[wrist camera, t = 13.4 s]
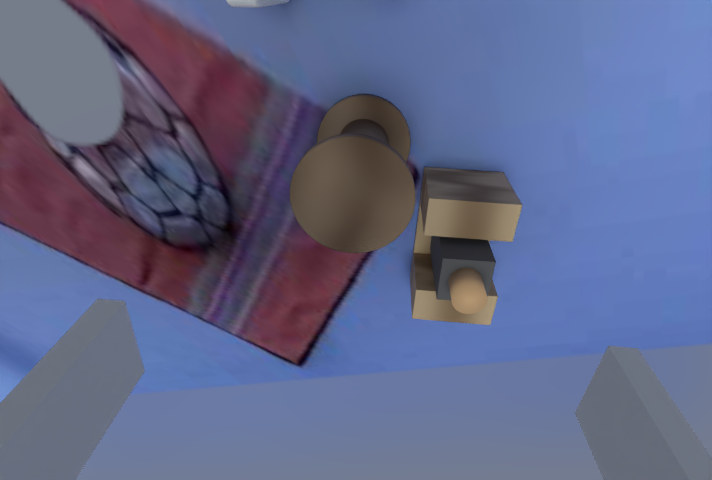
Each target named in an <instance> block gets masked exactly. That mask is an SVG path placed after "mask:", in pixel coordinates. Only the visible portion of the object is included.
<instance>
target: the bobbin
mask: <svg viewBox="0 0 712 480" xmlns="http://www.w3.org/2000/svg"><path fill="white" fill-rule="evenodd" d="M409 152H410V132H409V128H408V125H407V122H406V120H405V118H404V116H403V115H402V113H401V112H400V111H399V109H398V108H397V107H396V106H394V105H393V104H392V103H391V102H389V101H387V100H386V99H384V98H381V97H379V96H375V95H370V94H357V95H352V96H349V97H346V98H344V99H342V100H340V101H339V102H337V103H336V104H335V105H333V106H332V107H331V108H330V110H329V111H328V112H327V114H326V115H325V117H324V118H323V120H322V122H321V124H320V127H319V130H318V135H317V144H315V145H314V146H313V147H312V148H310V149H309V150H308V152H307V153H306V154H305V155H304V156H303V158H302V159H301V160H300V162H299V164H298V166H297V168H296V170H295V172H294V174H293V177H292V180H291V185H290V202H291V206H292V210H293V213H294V215H295V217H296V219H297V221H298V223H299V224H300V225H301V227H302V228H303V230H304V231H305V232H306V233H307V234H308V235H309V236H311V237H312V238H313V239H314V240H316V241H317V242H319V243H320V244H322V245H324V246H326V247H328V248H331V249H334V250H337V251H341V252H348V253H363V252H369V251H373V250H376V249H379V248H382V247H384V246H386V245H388V244H389V243H391V242H392V241H394V240H395V239H396V238H397V237H398V236H399V235H400V234H401V233H402V232H403V231H404V230H405V228H406V227H407V226H408V224H409V222H410V220H411V218H412V215H413V212H414V207H415V187H414V181H413V176H412V174H411V171H410V169H409V167H408V165H407V163H406V161H407V159H408V156H409Z"/></svg>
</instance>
